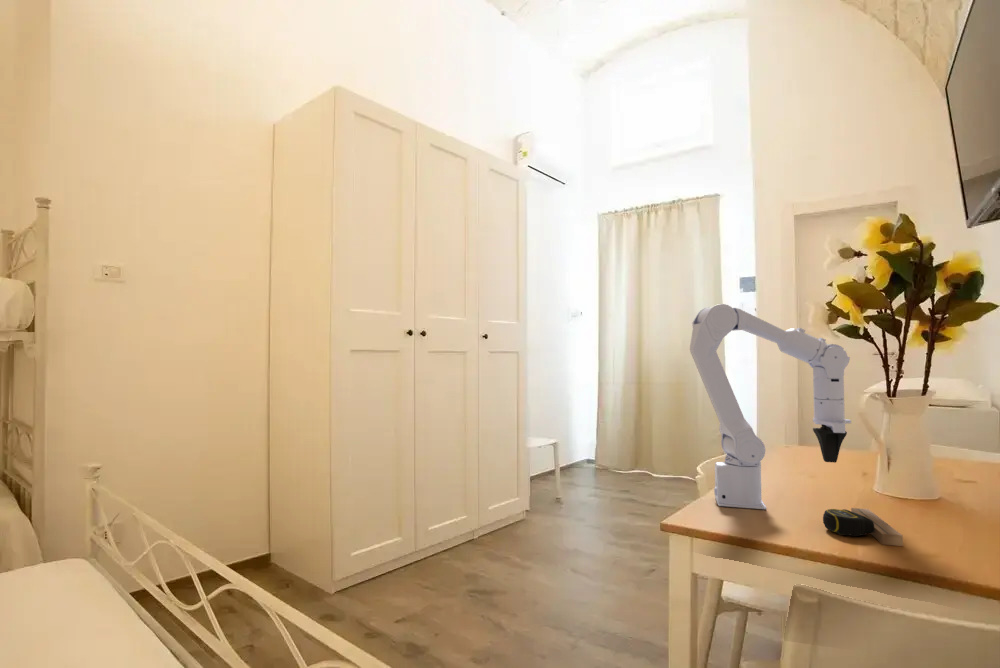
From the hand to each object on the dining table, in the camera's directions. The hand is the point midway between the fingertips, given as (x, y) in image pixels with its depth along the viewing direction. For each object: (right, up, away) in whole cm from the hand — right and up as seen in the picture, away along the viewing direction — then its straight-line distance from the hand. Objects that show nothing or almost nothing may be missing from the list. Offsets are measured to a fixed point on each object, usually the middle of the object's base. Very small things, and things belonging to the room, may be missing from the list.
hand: (830, 461), depth 116 cm
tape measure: (-7, -9, -17) cm, 21 cm away
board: (-2, -9, -16) cm, 19 cm away
